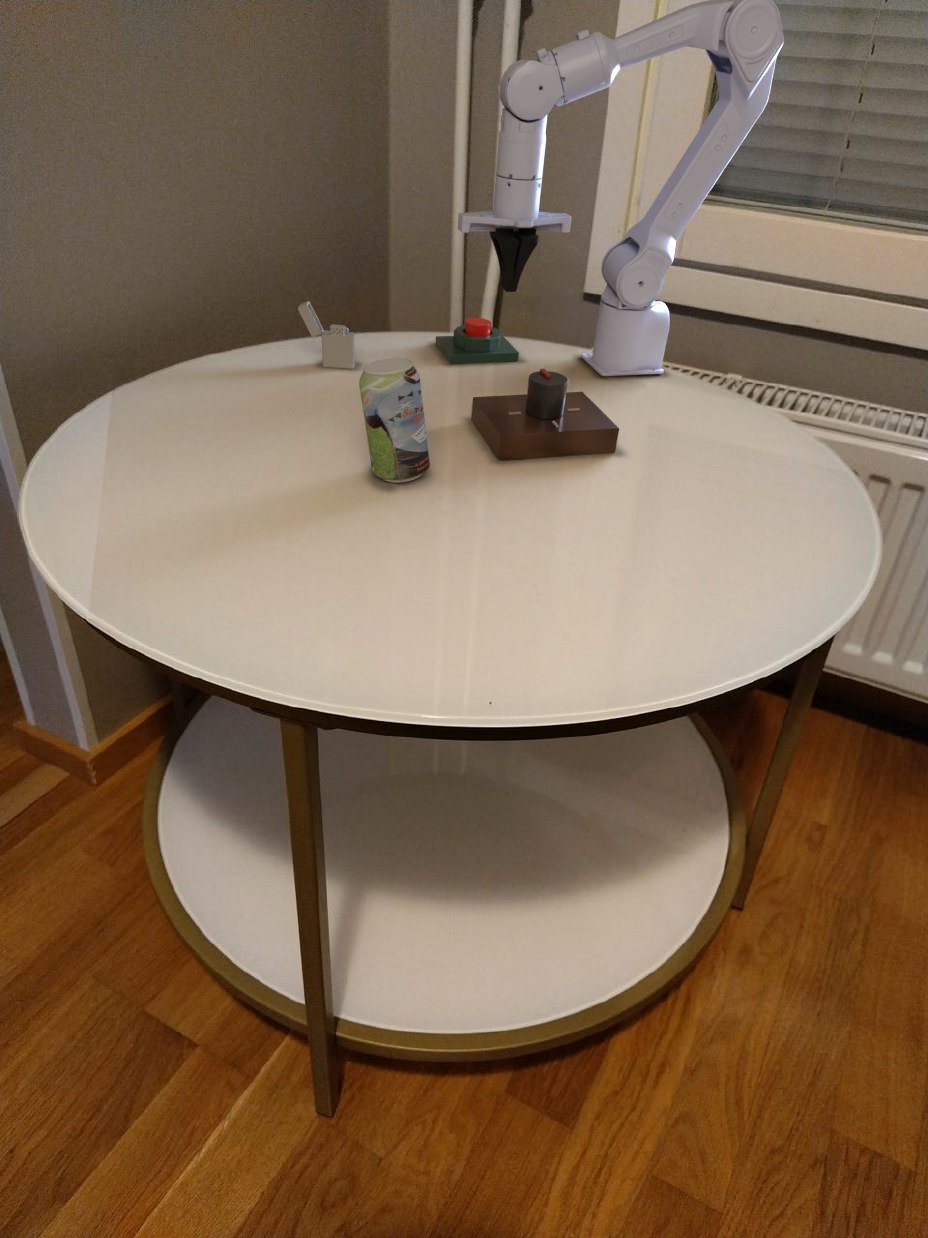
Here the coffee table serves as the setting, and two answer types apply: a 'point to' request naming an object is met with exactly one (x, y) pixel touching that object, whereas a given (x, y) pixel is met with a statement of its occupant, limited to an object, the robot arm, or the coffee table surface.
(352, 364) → the lighter
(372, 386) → the beverage can
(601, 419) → the dial panel
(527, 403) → the dial
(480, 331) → the button
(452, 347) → the button box
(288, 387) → the coffee table surface
